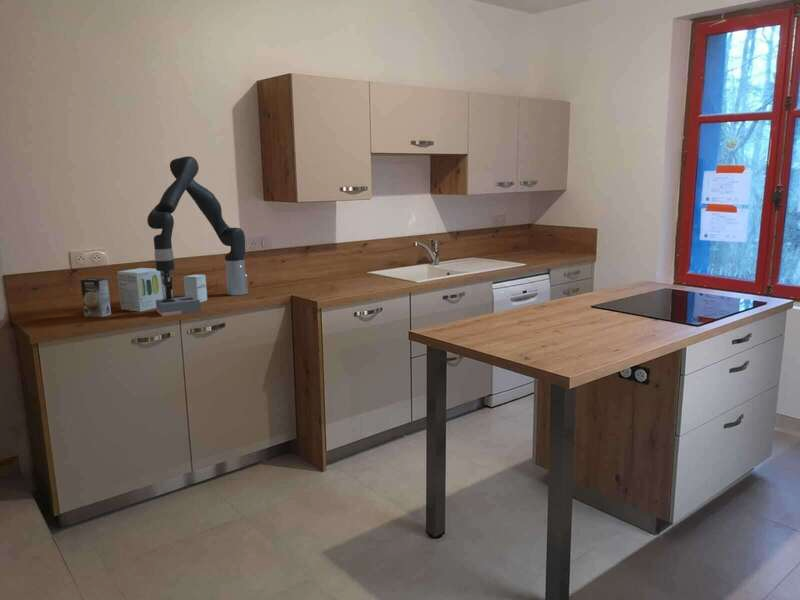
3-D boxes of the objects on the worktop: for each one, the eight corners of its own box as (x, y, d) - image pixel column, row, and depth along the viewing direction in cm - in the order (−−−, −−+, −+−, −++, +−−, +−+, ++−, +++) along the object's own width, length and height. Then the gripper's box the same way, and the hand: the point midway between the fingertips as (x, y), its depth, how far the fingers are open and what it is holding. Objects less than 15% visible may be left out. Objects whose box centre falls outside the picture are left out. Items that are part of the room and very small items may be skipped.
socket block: (193, 306, 288) (192, 295, 287) (200, 311, 276) (199, 300, 275) (156, 311, 280) (155, 299, 279) (162, 316, 268) (161, 304, 267)
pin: (172, 304, 278) (170, 282, 276) (174, 305, 275) (172, 283, 273) (163, 305, 276) (160, 282, 274) (164, 307, 273) (162, 284, 271)
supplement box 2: (198, 303, 295) (195, 276, 293) (185, 303, 298) (182, 276, 295) (208, 300, 302) (205, 274, 300) (195, 300, 305) (192, 274, 302)
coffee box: (83, 316, 272) (79, 279, 269) (94, 313, 278) (89, 277, 275) (102, 317, 270) (98, 280, 267) (112, 314, 276) (108, 277, 273)
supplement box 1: (140, 311, 279) (136, 272, 276) (120, 309, 286) (116, 271, 282) (164, 306, 291) (160, 268, 287) (145, 304, 297) (141, 267, 294)
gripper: (176, 259, 267) (180, 299, 271) (170, 257, 280) (173, 295, 283) (158, 261, 264) (162, 301, 267) (152, 258, 276) (156, 297, 279)
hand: (168, 298), depth 275 cm, fingers closed on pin, 3 cm apart
